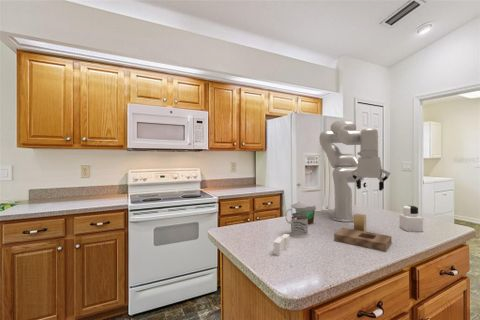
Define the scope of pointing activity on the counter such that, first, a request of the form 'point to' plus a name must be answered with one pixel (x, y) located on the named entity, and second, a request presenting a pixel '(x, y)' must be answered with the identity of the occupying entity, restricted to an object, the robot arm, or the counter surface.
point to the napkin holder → (281, 244)
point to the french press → (299, 221)
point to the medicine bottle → (411, 219)
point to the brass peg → (360, 222)
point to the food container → (307, 213)
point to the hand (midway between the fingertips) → (369, 189)
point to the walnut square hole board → (363, 239)
